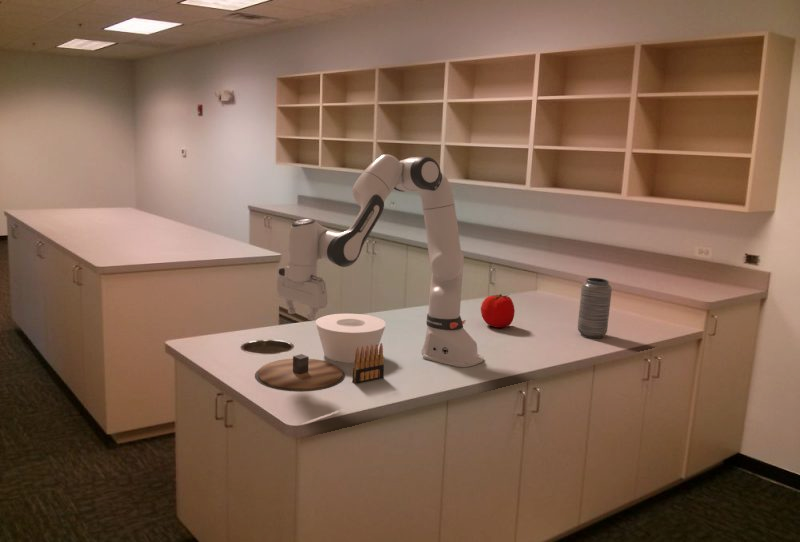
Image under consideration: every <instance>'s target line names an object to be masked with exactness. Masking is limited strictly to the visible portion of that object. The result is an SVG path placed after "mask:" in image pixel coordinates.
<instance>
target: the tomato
mask: <svg viewBox="0 0 800 542" xmlns="http://www.w3.org/2000/svg"><path fill="white" fill-rule="evenodd" d="M509 295H511V294H505V295H503V294H501V293H499V294H494V295H492V294H491V295H489V296H487V297H484V300H483V301H482V303H481V305H480V315H481V317H482V320H483V322H485V323H486V324H487V325H488V326H490V327H494V328H498V329H499V328H503V329H504V328H507V327H509V326H510V325H511V324H512V323H513V320H514V317H515V312H516V311H515V310H516V309H515V305H514V302H513V300H512V298H511V297H510V296H509Z"/></svg>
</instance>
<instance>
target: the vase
mask: <svg viewBox="0 0 800 542" xmlns="http://www.w3.org/2000/svg"><path fill="white" fill-rule="evenodd" d="M612 291H613V289H612V286H611V285H610V282H609V280H608V279H605V278H599V277H588V278H586V280H585V281H584V282H583V284H582V285H581V292H580V298H579V299H580V300H579V307H578V308H579V311H578V319H577V331H578V332H579V333H580V335H581V336H582V337H584V338H589V339H602V338H603V337H604V336H605V335H606V334H607V332H608V326H609V325H608V324H609V316H610V310H611V300H612Z"/></svg>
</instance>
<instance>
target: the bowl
mask: <svg viewBox="0 0 800 542" xmlns="http://www.w3.org/2000/svg"><path fill="white" fill-rule="evenodd" d="M315 324H316V329H317V331H318V336H319V340H320V343H321V347H322V350H323V355H324V357H325V358H327V359H329V360H330V361H335V362H339V363H349V364H351V363H352V364H354V362H355V354H356V349H357V347H358V348H359V359H360V352H361V348H362V346H363V348H364V358H365V350H366V347H367V345H368V348H369V356H370V348H371V345H373V349H374V351H375V346H376V344H377V345H378V347H380V344H381V340H382V336H383V334H384V331H385V328H386V325H387V324H386V322H385V320H383V319H382V318H379V317H376V316H373V315H368V314H362V313H361V314H360V313H334V314H333V313H332V314H328V315H324V316H321V317H319V318H317V319H315Z"/></svg>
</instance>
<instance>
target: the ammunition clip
mask: <svg viewBox="0 0 800 542" xmlns="http://www.w3.org/2000/svg"><path fill="white" fill-rule="evenodd" d="M383 347H384V346H383V343H382V342H380V343H379V346H378V345H377V344H376V346H375V351H374V349H373V345H371V348H370V356H369V348H368V345H367V347H366V350H365V358H364V348H363V346H362V348H361V352H360V359H359V348H358V347H357V349H356V354H355V362H354V363H353V365H354V367H353V369H352V383H354V385H359V384H363V383H367V382H373V381H377V380H382V379H384V378H385V375H384V374H385V366H384V348H383Z"/></svg>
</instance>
